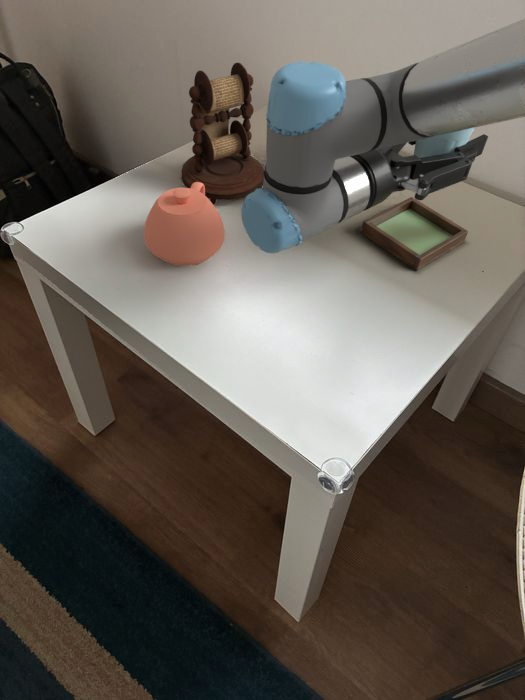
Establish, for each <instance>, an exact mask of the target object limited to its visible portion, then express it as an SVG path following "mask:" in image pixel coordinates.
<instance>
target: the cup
mask: <svg viewBox="0 0 525 700" xmlns="http://www.w3.org/2000/svg"><path fill="white" fill-rule="evenodd" d="M474 130H475V128H470V129H465V130H461V131H456V132H451V133H446V134H442V135H437V136H433V137H430V138H427V139H423V140H418V141H416V144H415V145H414V150H413V155H416V156H418V157H419V158H422V157H428V156H434V155H441V154H447V153H454V151H455V148H456V147H460V146H462V145H465V144H466V143H467V142H468V141H470V138H471V136H472V134H473V133H474ZM444 189H445V188H443V189H440V190H438V191H437V192H439V191H442V190H444Z"/></svg>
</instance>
